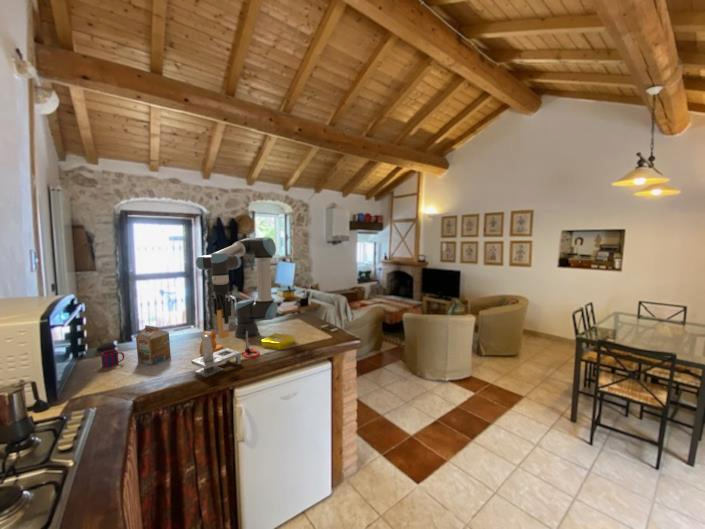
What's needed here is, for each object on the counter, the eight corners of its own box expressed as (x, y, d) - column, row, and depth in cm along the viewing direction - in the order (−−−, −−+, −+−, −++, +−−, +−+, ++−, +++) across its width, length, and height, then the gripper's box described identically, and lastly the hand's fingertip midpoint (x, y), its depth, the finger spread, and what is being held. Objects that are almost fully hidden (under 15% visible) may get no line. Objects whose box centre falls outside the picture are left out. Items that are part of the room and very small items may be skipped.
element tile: (295, 341, 188) (295, 334, 187) (281, 350, 174) (280, 342, 174) (275, 339, 193) (274, 332, 193) (259, 347, 180) (259, 339, 179)
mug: (109, 362, 161) (107, 350, 160) (128, 361, 161) (127, 349, 160) (98, 367, 154) (97, 354, 154) (118, 367, 154) (117, 354, 154)
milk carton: (138, 363, 159) (135, 328, 157) (157, 355, 169) (154, 322, 167) (151, 366, 155) (148, 330, 153) (170, 358, 165) (168, 324, 163)
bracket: (210, 356, 166) (209, 335, 165) (199, 355, 168) (198, 334, 167) (224, 349, 176) (222, 329, 175) (213, 348, 178) (212, 328, 177)
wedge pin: (224, 335, 156) (223, 308, 155) (228, 336, 154) (227, 309, 153) (218, 337, 153) (216, 310, 152) (222, 338, 151) (221, 311, 150)
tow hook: (262, 355, 168) (253, 350, 174) (262, 332, 166) (252, 328, 172) (248, 360, 162) (239, 355, 168) (248, 336, 160) (239, 332, 166)
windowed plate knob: (227, 358, 162) (225, 326, 161) (241, 363, 156) (239, 329, 154) (192, 372, 147) (189, 336, 145) (206, 378, 140) (203, 340, 138)
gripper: (204, 283, 152) (207, 328, 155) (223, 285, 143) (226, 333, 145) (218, 281, 159) (220, 324, 161) (237, 283, 149) (239, 329, 152)
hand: (223, 329), depth 153 cm, fingers closed on wedge pin, 3 cm apart
